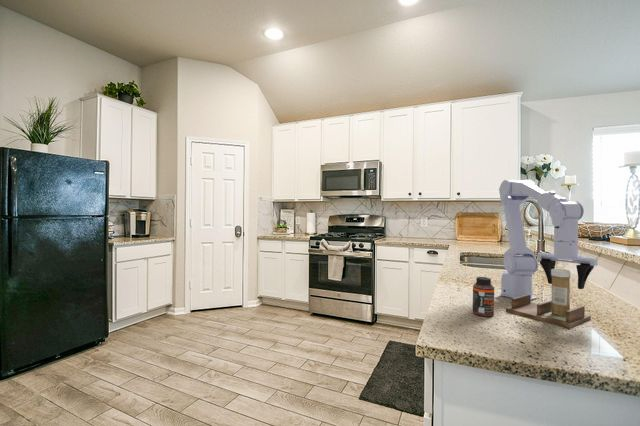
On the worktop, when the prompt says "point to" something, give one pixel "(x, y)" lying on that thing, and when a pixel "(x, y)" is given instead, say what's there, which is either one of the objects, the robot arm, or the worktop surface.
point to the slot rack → (547, 312)
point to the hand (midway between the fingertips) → (565, 285)
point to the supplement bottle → (483, 297)
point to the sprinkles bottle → (560, 291)
